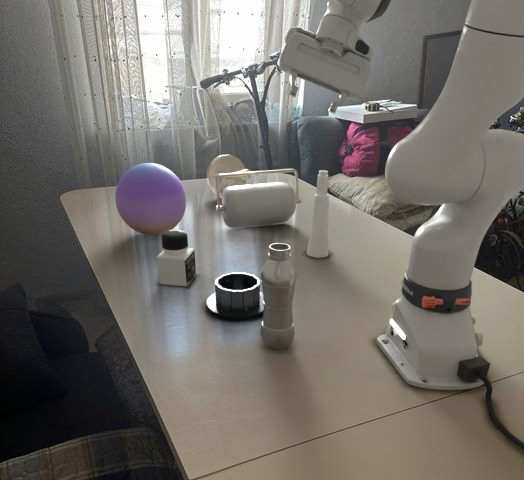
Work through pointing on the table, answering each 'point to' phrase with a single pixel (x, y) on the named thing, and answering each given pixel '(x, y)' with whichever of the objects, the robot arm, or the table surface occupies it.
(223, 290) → the stand
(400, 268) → the table surface
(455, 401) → the table surface
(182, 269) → the medicine bottle
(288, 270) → the plastic bottle
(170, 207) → the ball
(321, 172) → the cosmetic bottle
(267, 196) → the lamp
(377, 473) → the table surface
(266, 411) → the table surface
